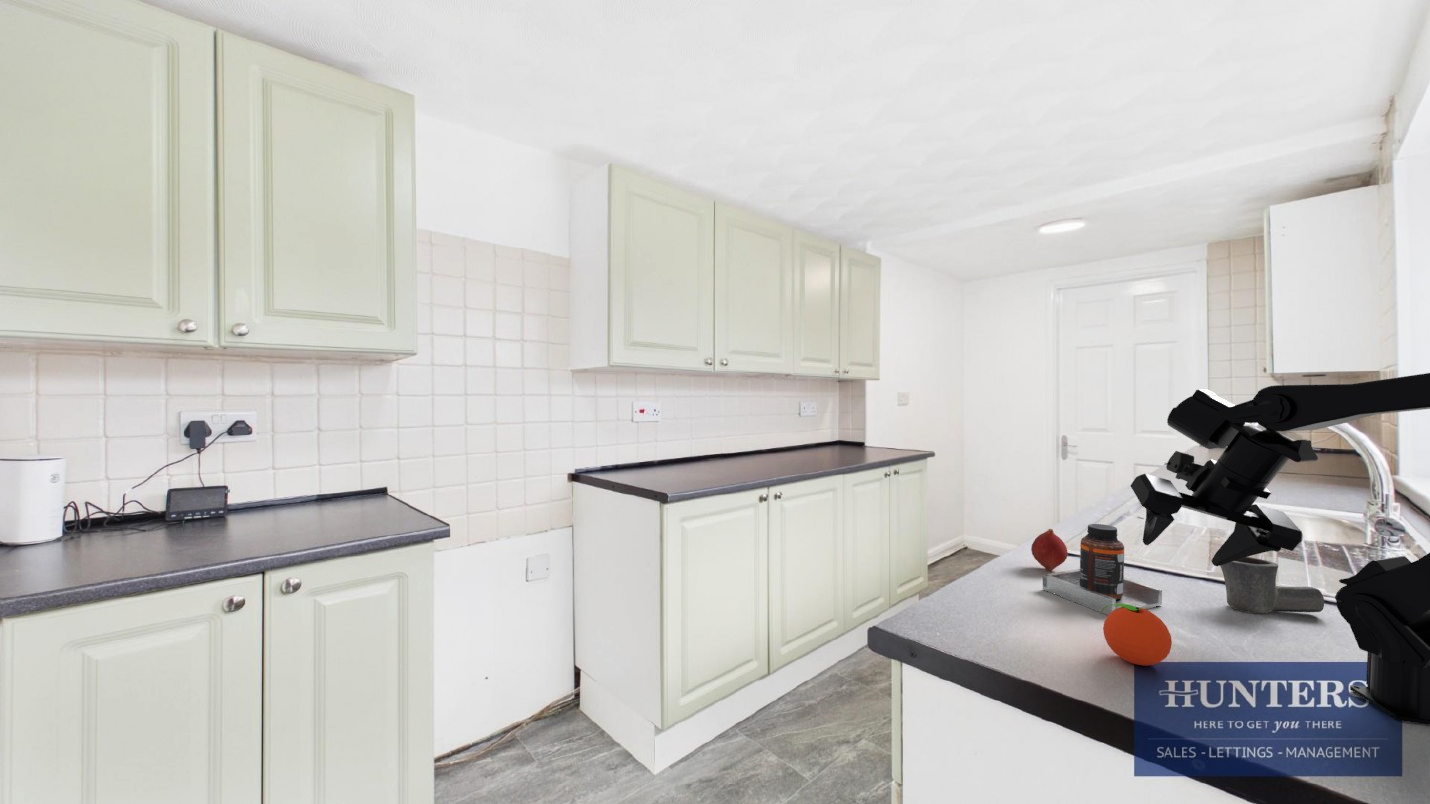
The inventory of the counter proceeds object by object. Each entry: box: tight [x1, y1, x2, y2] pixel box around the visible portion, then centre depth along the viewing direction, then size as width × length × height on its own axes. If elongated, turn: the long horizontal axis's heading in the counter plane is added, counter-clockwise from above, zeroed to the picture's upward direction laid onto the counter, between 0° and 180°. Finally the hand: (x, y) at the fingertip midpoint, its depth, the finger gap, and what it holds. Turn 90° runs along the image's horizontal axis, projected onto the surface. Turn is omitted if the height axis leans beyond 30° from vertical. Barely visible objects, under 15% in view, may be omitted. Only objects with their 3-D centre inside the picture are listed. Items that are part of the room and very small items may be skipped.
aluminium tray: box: [1042, 568, 1163, 616], centre depth 91 cm, size 12×12×3 cm
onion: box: [1030, 528, 1068, 571], centre depth 105 cm, size 6×6×8 cm
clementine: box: [1099, 604, 1173, 667], centre depth 71 cm, size 8×7×7 cm
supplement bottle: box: [1079, 523, 1125, 600], centre depth 91 cm, size 6×6×11 cm
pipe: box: [1219, 556, 1326, 614], centre depth 86 cm, size 6×13×8 cm, turn 77°
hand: (1179, 553), depth 82 cm, fingers open, 9 cm apart
